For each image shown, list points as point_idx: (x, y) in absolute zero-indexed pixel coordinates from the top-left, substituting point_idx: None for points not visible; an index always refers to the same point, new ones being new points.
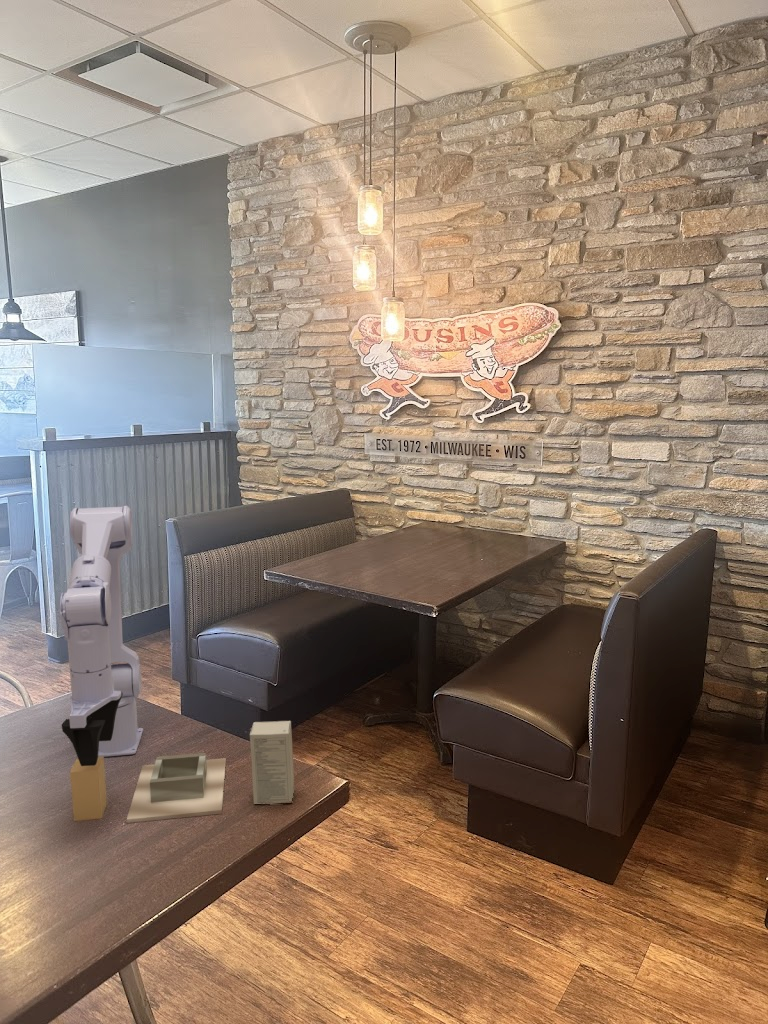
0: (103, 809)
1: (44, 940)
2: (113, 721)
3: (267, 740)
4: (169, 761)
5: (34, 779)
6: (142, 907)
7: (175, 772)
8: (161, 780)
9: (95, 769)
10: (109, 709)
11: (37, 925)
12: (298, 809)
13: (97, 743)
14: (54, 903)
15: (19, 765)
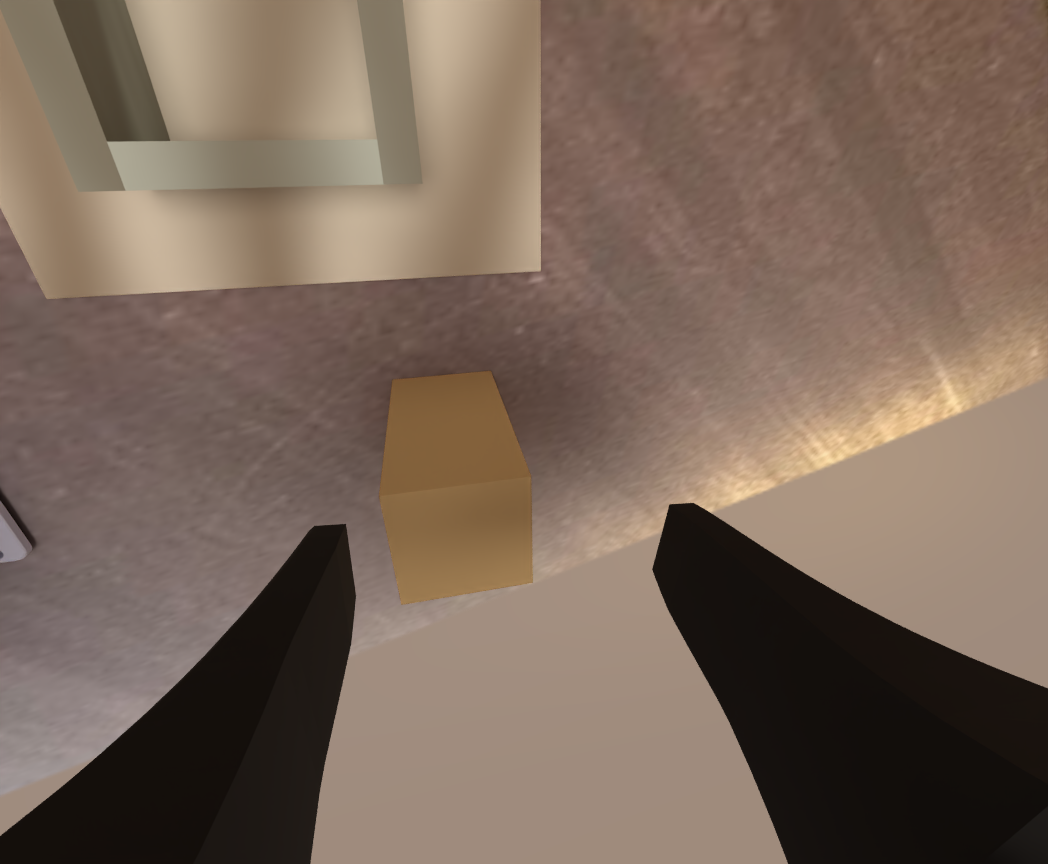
0: (457, 378)
1: (962, 356)
2: (286, 634)
3: None
4: (97, 81)
5: None
6: (1001, 109)
7: (126, 55)
8: (401, 103)
9: (522, 489)
10: (249, 829)
11: (906, 388)
12: None
13: (832, 600)
14: (852, 377)
15: None
